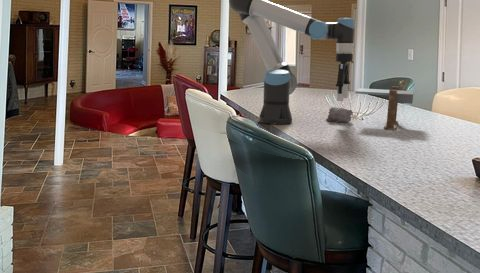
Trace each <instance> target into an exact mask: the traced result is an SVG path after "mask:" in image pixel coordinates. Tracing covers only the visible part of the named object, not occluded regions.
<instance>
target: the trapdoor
mask: <svg viewBox="0 0 480 273" xmlns="http://www.w3.org/2000/svg"><path fill="white" fill-rule="evenodd" d="M389 90H390V89H378V88H365V87H364V88H363V87H362V88H361V87H360V88H358V89H356V90H355V91H354V94H358V95H359V94H361V95H376V96H377V95H378V96H389ZM414 92H415V91H414V90H402V89H401V90H400V89H399V90H397V98H396V103H398V104H409V105H412V104H413V100H414Z"/></svg>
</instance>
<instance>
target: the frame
mask: <svg viewBox="0 0 480 273" xmlns="http://www.w3.org/2000/svg"><path fill="white" fill-rule="evenodd" d="M388 90H389V95H388V104H387V105H388V106H387V115H386V123H385V124H384V127H383V130H387V131H396V130H397V127H398V125H399V120H397V116H398V104H399V103H396V98H397V90H400V86H395V85H393V86H391V89H388Z"/></svg>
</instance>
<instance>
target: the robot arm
mask: <svg viewBox="0 0 480 273" xmlns="http://www.w3.org/2000/svg"><path fill="white" fill-rule="evenodd" d="M228 3H229V6H230V8H231V9H232V11H233V12H235V13H236V14H237V13H238V15H239V18H240V19H241V22H242V23H243V24H246V25H247V27H248V30H249V32H250V34H251V37H252V39H253V40H254V43H255V45H256V48H257V50H258V52H259V54H260V57H261V58H262V62H263V64H264V65H265V68H266V71H265V73H264V76H263V105H262V108H261V111H260V112H259V116H258V122H259V123H261V124H267V125H269V124H268V123H276V124H275V125H286V124H285V123H290V124H292V123H293V116H292V113H291V108H290V95H291V94H293V92H295V90H296V88H297V86H298V80H297V77H296V74H294V73H293V72H292V70H291V67H290V65H289V64H288V63H286V62H284V60H283V57H282V56H281V53H280V51H279V49H278V46H277V44H276V42H275V40H274V37H273V35H272V33H271V31H270V28H269V26H268V24H267V22H266V20H267V21H270V22H272V23H275V24H277V25H280V26H282V27H285V28H289V29H290V30H293V31H295V32H298V33H301V34H303V35H306V36H308V37H310V39H312V40H316V41H319V40H325V41H326V40H336V49H335V51H336V54H335V61H336V63H337V62H340V63H338V72H337V80H336V84H335V87H337V90H336V101H337V102H343V101H344V99H348V98H349V96H348V94H349V85H350V83H351V81H350V76H349V75H350V73H349V68H350V66H349V65H350V62H353V58H354V54H353V52H354V48H355V45H354V42H355V19H354V18H352V17H339V18H337V21H336V22H325V21H323V20H319V19H316V18H314V17H311V16H308V15H305V14H303V13H300V12H298V11H295V10H292V9H289V8H287V7H284V6H282V5H280V4H276V3H274V2H272V1H269V0H228ZM291 122H292V123H291Z"/></svg>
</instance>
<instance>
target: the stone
mask: <svg viewBox="0 0 480 273" xmlns="http://www.w3.org/2000/svg"><path fill="white" fill-rule="evenodd" d="M353 113H354V112H353V110H351V109H345V108H344V107H336V106H333V107H330V108H329V110H328V115H327V118H326V119H325V120H326V121H327V122H329V123H331V122H335V123H346V124H348V123H350V122H351V121H352V117H351V116H352V115H353Z"/></svg>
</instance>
